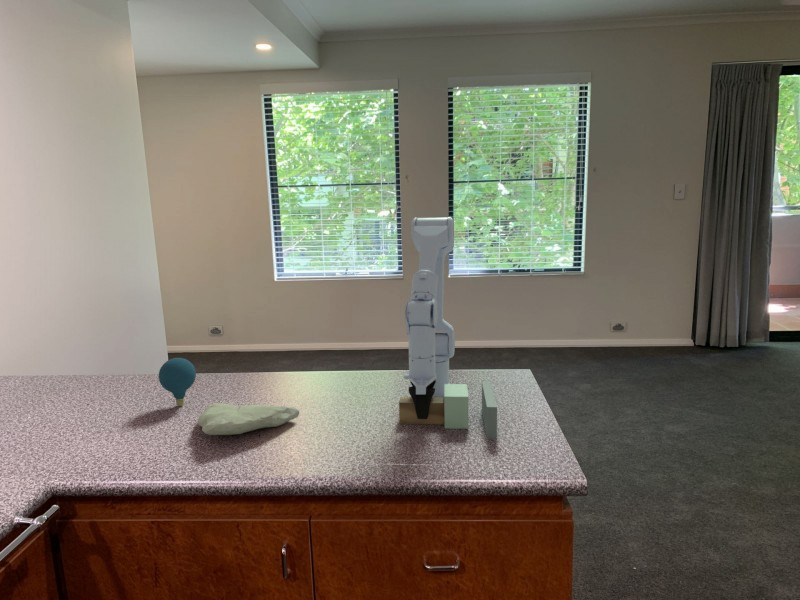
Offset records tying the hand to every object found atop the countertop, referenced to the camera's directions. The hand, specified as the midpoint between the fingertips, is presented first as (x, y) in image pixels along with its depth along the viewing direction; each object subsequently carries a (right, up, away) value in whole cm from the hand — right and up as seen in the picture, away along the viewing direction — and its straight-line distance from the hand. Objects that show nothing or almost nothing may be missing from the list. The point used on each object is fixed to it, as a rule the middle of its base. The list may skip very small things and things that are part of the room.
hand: (423, 414), depth 118 cm
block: (+7, -1, 0) cm, 7 cm away
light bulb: (-59, -1, +13) cm, 60 cm away
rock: (-41, -3, -2) cm, 41 cm away
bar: (+1, -2, 0) cm, 2 cm away
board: (+14, -2, -2) cm, 14 cm away
